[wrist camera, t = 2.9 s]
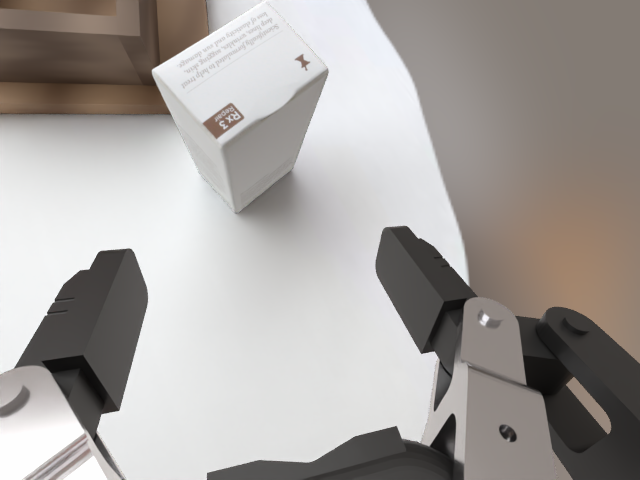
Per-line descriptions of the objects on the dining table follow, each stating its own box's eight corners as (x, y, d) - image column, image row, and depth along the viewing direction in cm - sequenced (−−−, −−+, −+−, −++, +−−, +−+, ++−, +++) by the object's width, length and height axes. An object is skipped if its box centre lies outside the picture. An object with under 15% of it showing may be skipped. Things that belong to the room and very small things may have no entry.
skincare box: (258, 130, 25) (264, -15, 13) (296, 171, 25) (336, 65, 13) (195, 176, 23) (139, 58, 11) (236, 220, 23) (223, 149, 12)
